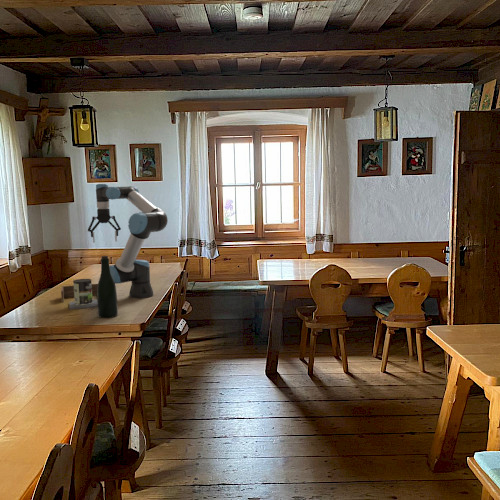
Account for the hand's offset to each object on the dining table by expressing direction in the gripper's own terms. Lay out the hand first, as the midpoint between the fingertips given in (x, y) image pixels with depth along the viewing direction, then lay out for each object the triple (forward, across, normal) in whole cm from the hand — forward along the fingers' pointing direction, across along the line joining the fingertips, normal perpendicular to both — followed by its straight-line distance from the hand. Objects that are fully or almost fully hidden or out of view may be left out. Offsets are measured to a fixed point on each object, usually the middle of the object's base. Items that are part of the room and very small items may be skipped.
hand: (105, 241), depth 324 cm
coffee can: (+34, +15, +23) cm, 44 cm away
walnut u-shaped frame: (+35, +15, +3) cm, 38 cm away
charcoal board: (+35, +15, +23) cm, 44 cm away
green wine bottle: (+35, +3, +54) cm, 64 cm away
